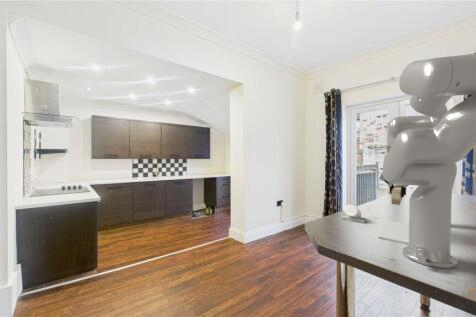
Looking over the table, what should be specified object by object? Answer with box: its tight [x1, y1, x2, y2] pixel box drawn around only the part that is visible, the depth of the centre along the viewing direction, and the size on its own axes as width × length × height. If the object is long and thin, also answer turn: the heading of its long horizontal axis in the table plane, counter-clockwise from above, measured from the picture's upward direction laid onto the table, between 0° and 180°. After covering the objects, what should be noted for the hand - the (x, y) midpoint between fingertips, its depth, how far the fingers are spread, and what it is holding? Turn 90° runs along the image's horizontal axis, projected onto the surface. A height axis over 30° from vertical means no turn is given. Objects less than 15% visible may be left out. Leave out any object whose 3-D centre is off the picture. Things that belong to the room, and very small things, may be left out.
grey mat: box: [377, 220, 409, 245], centre depth 90 cm, size 26×9×1 cm, turn 138°
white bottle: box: [343, 204, 362, 219], centre depth 108 cm, size 6×12×6 cm, turn 139°
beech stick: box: [391, 184, 404, 206], centre depth 91 cm, size 18×2×5 cm, turn 138°
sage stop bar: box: [340, 215, 366, 224], centre depth 105 cm, size 2×10×1 cm, turn 48°
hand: (397, 196), depth 89 cm, fingers closed on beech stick, 2 cm apart
